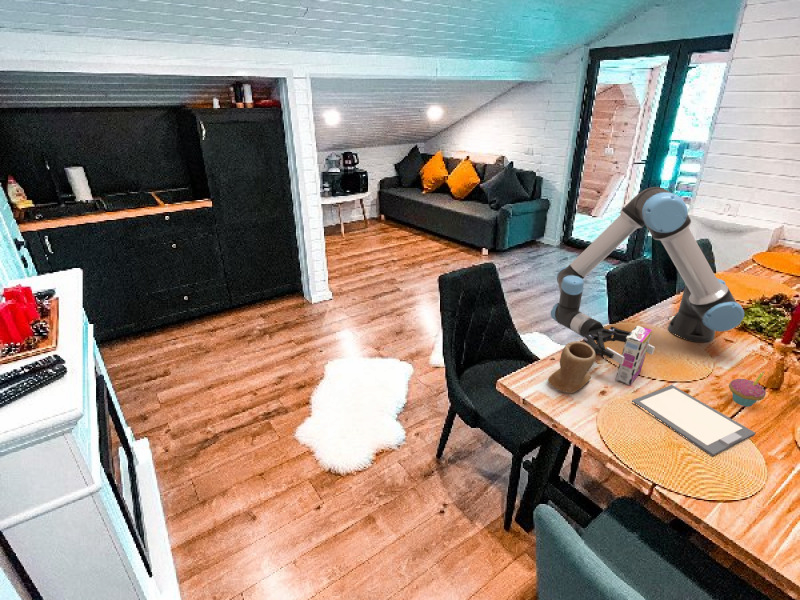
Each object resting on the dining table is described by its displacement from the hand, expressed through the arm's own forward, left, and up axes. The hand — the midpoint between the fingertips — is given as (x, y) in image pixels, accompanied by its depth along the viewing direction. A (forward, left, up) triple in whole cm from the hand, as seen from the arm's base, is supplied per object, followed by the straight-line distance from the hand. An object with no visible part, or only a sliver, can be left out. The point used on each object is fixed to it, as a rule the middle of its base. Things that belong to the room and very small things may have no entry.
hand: (638, 355), depth 135 cm
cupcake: (-19, +22, -9) cm, 31 cm away
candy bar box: (0, -2, -9) cm, 9 cm away
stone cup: (+20, -7, -9) cm, 23 cm away
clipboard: (+2, +20, -9) cm, 22 cm away
